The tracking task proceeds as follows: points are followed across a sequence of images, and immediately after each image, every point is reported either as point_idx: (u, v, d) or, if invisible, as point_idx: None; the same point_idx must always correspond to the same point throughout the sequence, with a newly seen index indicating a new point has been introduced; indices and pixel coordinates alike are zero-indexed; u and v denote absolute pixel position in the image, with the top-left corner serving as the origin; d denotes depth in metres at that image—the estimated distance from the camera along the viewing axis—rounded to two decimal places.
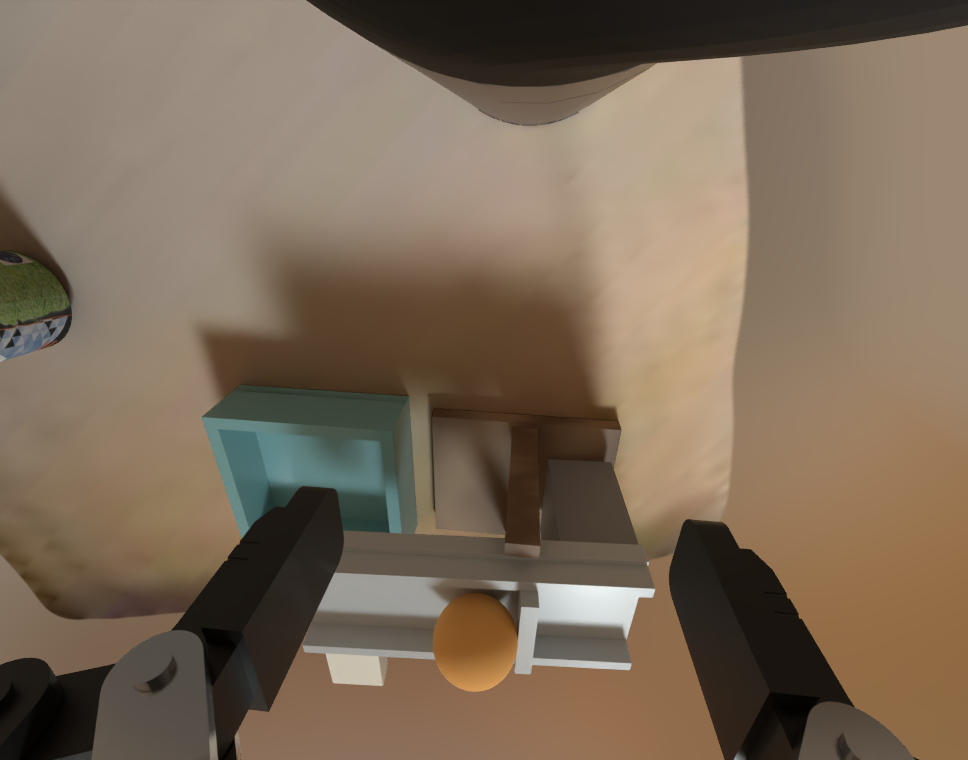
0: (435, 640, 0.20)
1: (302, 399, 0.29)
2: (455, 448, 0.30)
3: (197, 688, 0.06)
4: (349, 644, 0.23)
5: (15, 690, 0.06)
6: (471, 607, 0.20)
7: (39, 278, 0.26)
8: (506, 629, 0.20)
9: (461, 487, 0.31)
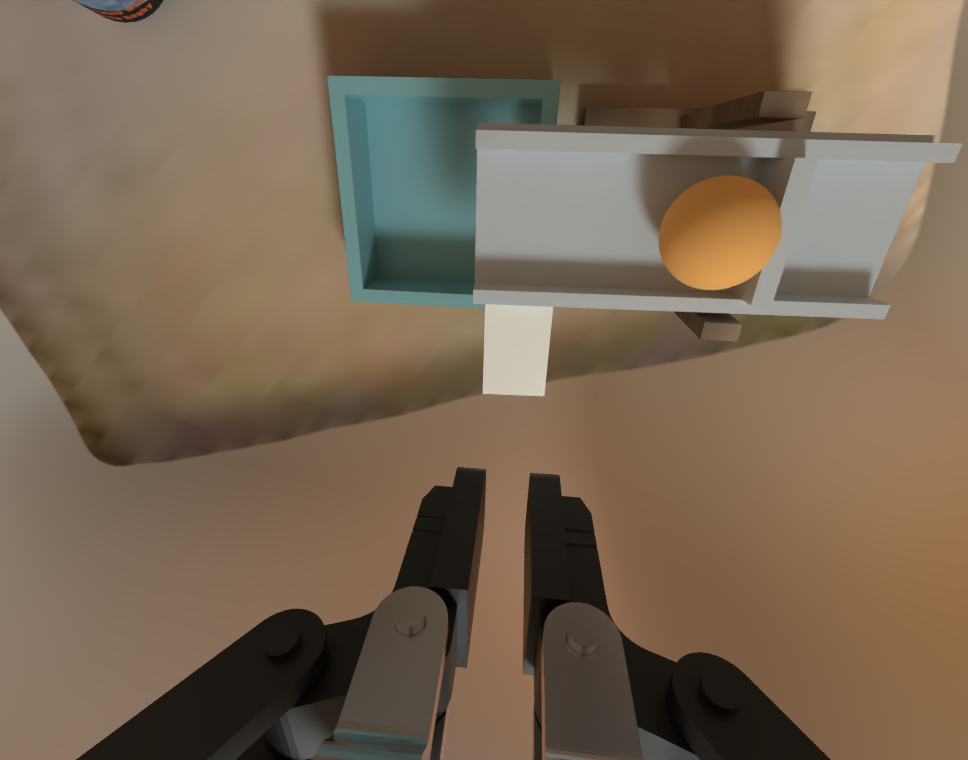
0: (676, 215, 0.16)
1: None
2: None
3: (435, 658, 0.07)
4: (530, 291, 0.19)
5: (299, 636, 0.07)
6: (721, 176, 0.16)
7: None
8: (771, 195, 0.15)
9: None
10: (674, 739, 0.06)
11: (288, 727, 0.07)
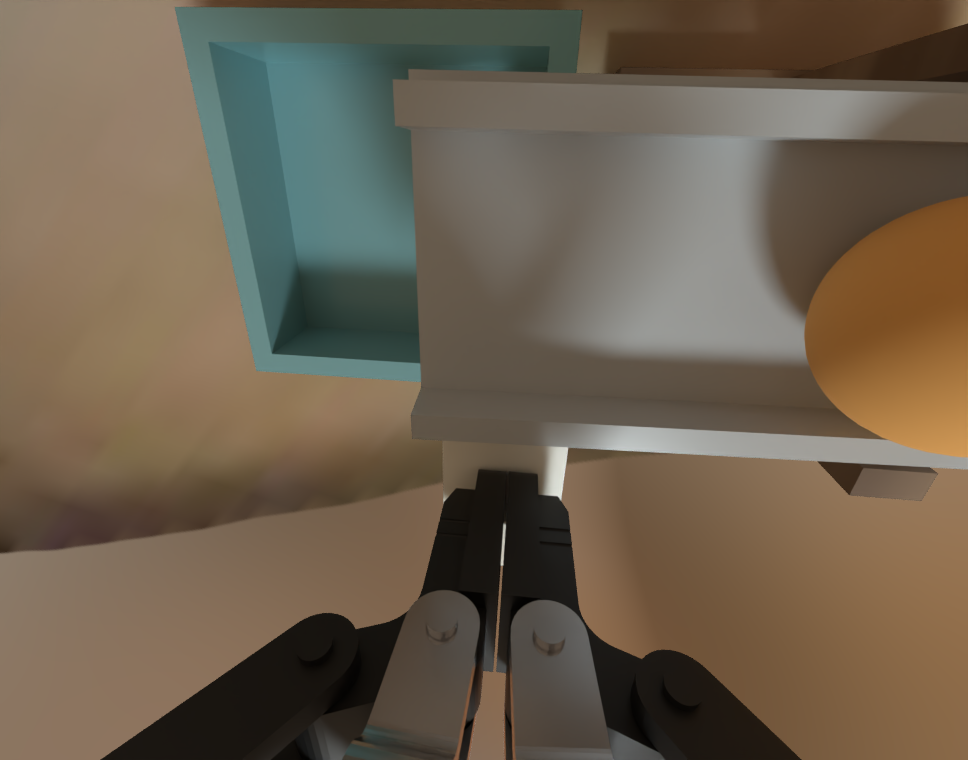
0: (888, 290, 0.06)
1: None
2: None
3: (466, 665, 0.06)
4: (525, 417, 0.09)
5: (331, 641, 0.07)
6: None
7: None
8: None
9: None
10: (636, 736, 0.06)
11: (318, 734, 0.06)
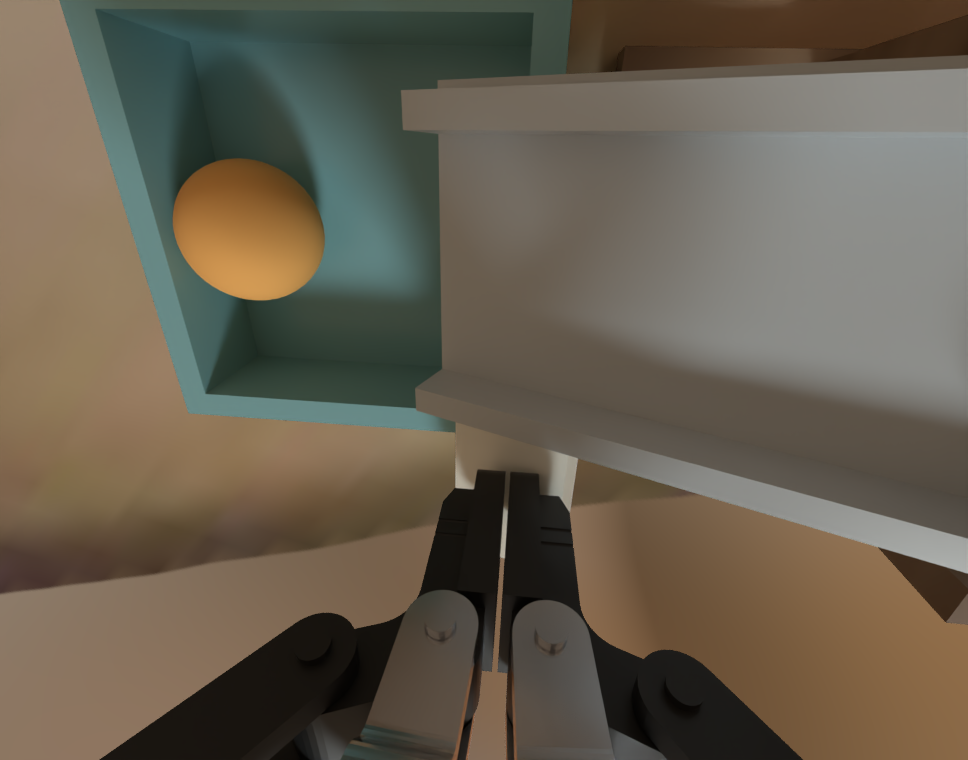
0: None
1: None
2: None
3: (464, 665, 0.06)
4: (513, 411, 0.10)
5: (330, 640, 0.07)
6: (254, 160, 0.13)
7: None
8: (195, 183, 0.12)
9: None
10: (638, 736, 0.06)
11: (316, 733, 0.06)
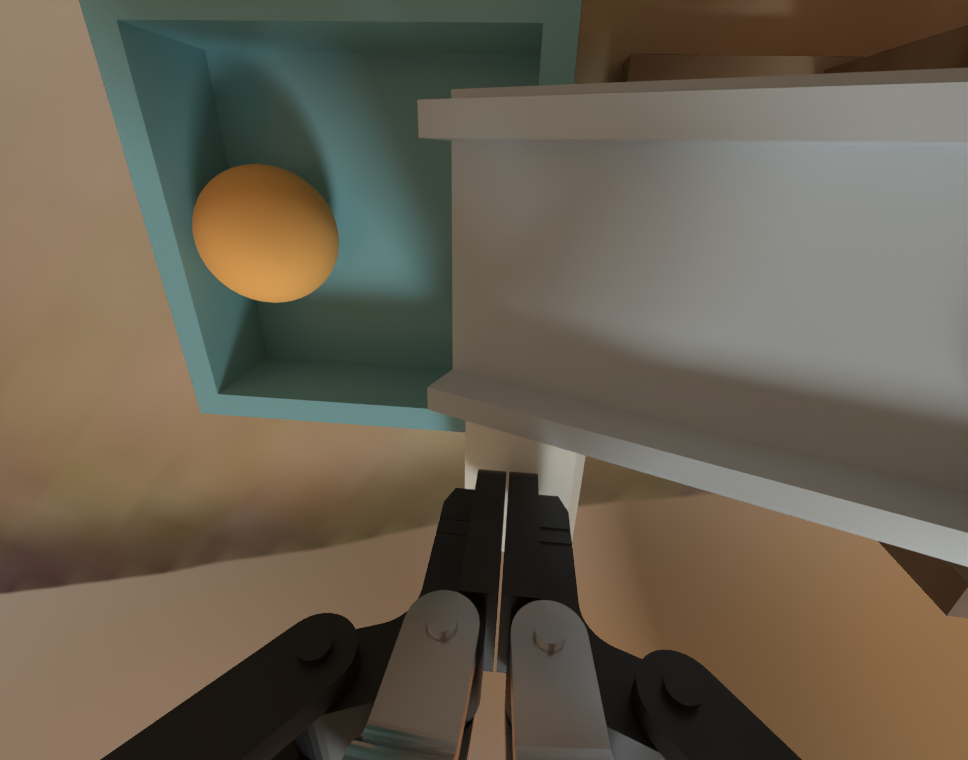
0: None
1: None
2: None
3: (465, 665, 0.06)
4: (523, 410, 0.10)
5: (331, 641, 0.07)
6: (271, 165, 0.13)
7: None
8: (217, 188, 0.12)
9: None
10: (637, 736, 0.06)
11: (318, 733, 0.06)
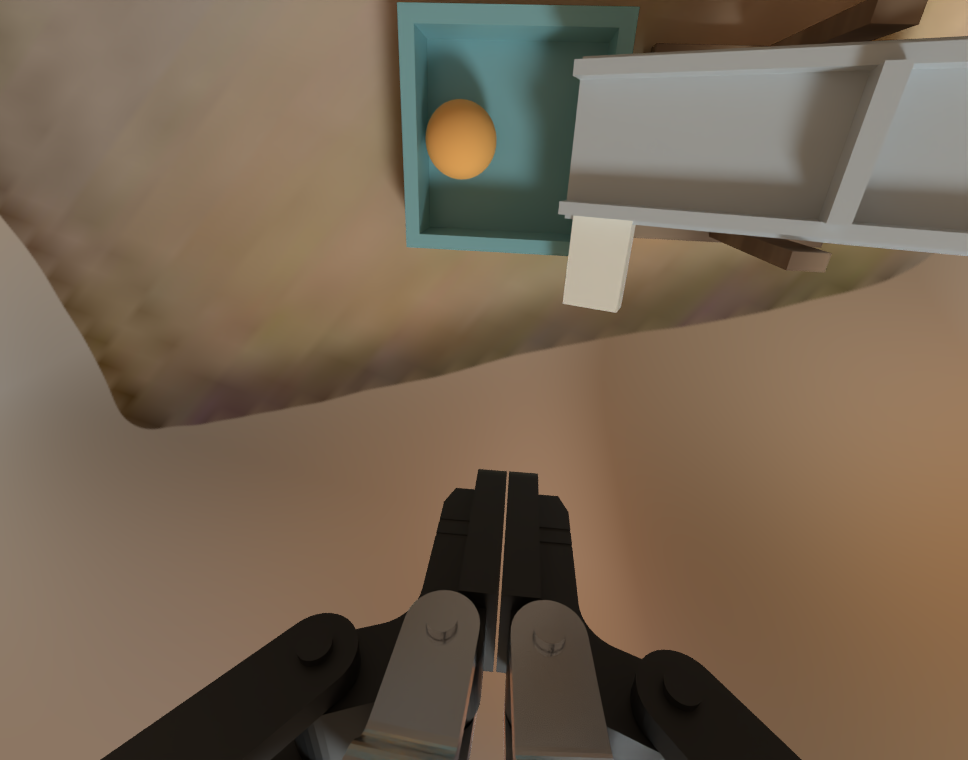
0: None
1: None
2: None
3: (465, 665, 0.06)
4: (608, 205, 0.21)
5: (332, 641, 0.07)
6: None
7: None
8: (450, 109, 0.23)
9: None
10: (636, 736, 0.06)
11: (317, 734, 0.06)
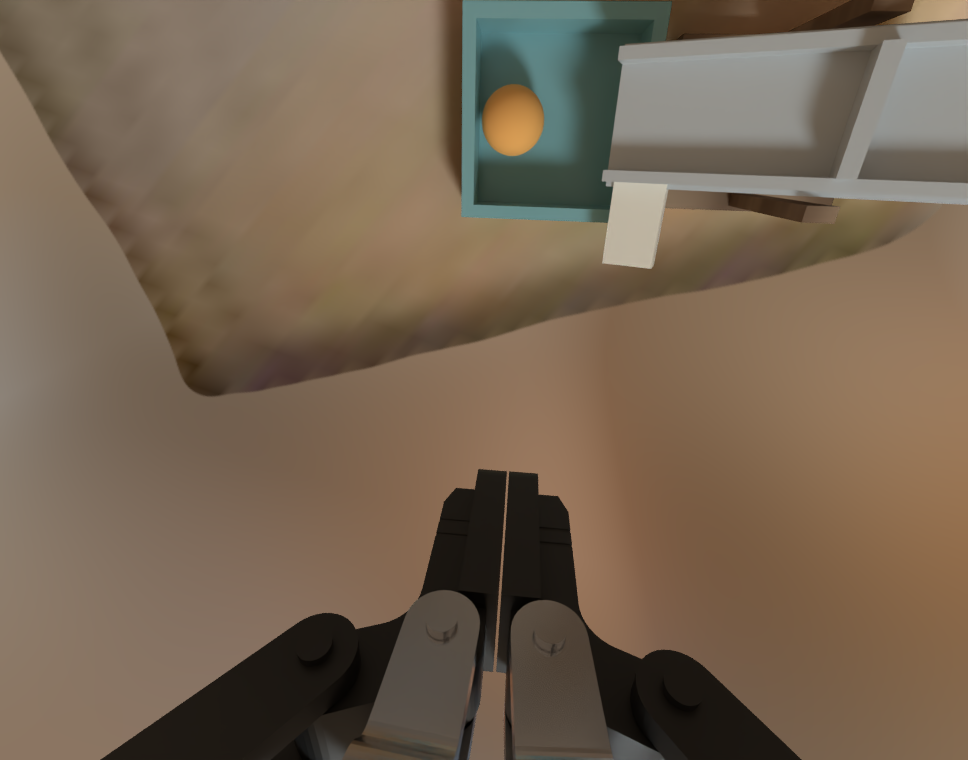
0: None
1: None
2: None
3: (465, 665, 0.06)
4: (646, 172, 0.25)
5: (331, 641, 0.07)
6: None
7: None
8: (507, 92, 0.27)
9: None
10: (636, 736, 0.06)
11: (318, 733, 0.06)
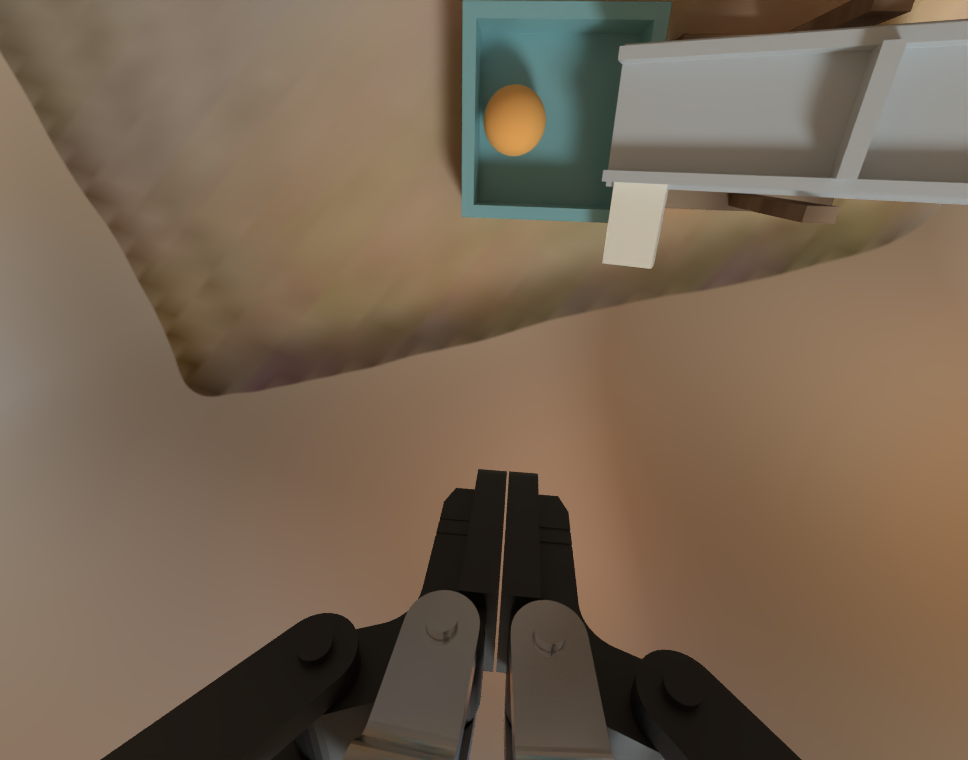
0: None
1: None
2: None
3: (466, 665, 0.06)
4: (646, 172, 0.25)
5: (332, 641, 0.07)
6: None
7: None
8: (510, 92, 0.27)
9: None
10: (636, 736, 0.06)
11: (318, 734, 0.06)
